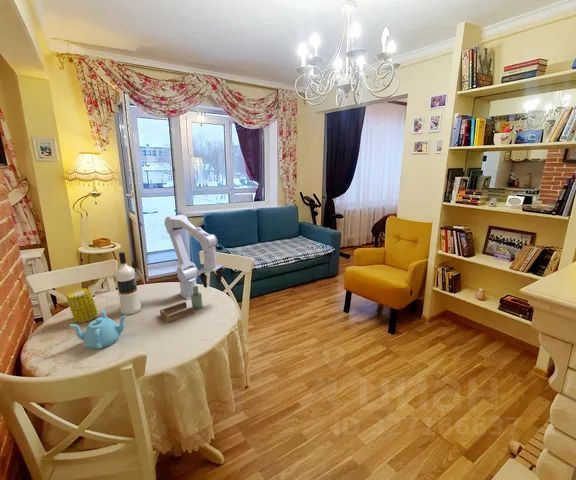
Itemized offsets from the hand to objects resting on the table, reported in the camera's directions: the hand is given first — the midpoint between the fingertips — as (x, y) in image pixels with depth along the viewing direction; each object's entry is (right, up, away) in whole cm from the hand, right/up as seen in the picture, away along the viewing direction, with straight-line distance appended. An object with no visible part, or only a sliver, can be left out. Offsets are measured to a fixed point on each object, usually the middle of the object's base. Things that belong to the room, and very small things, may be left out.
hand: (212, 284), depth 151 cm
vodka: (-39, -12, -4) cm, 41 cm away
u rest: (-14, -13, -8) cm, 21 cm away
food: (-57, -14, -11) cm, 60 cm away
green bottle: (-7, -11, -1) cm, 13 cm away
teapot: (-38, -19, -28) cm, 50 cm away
